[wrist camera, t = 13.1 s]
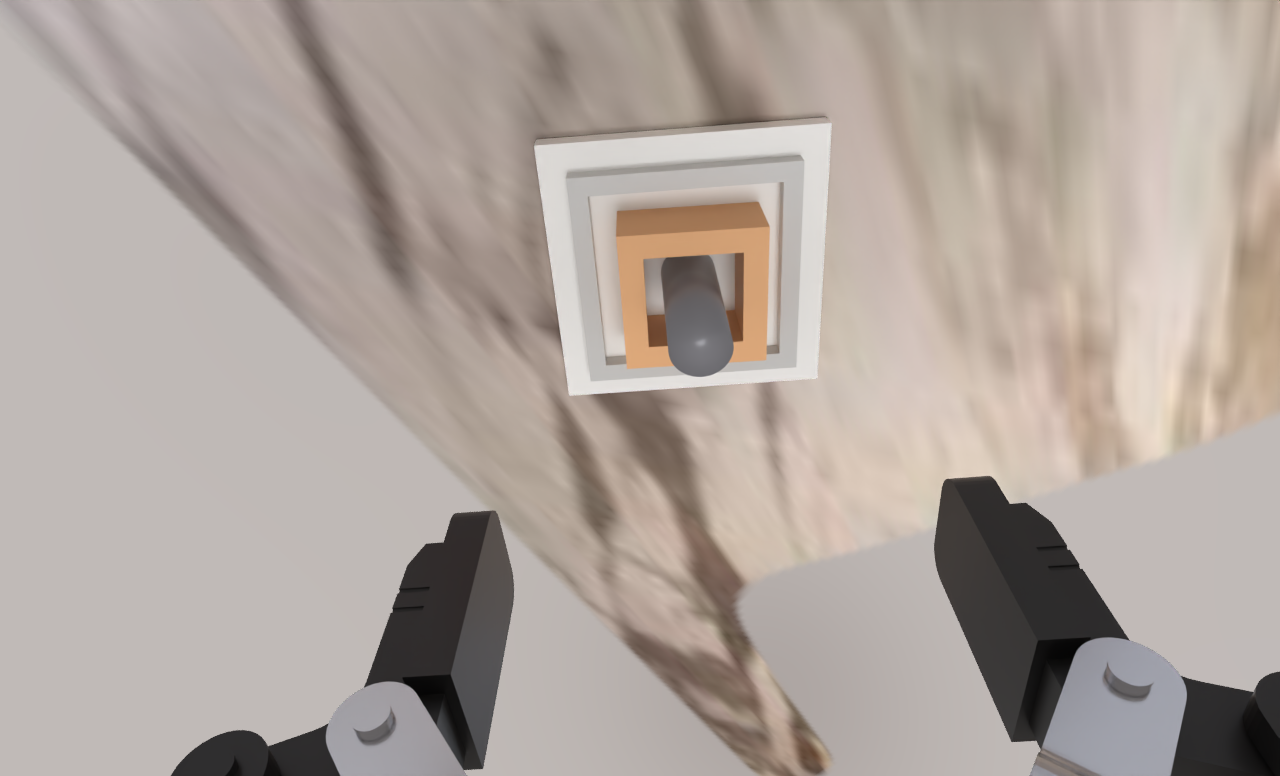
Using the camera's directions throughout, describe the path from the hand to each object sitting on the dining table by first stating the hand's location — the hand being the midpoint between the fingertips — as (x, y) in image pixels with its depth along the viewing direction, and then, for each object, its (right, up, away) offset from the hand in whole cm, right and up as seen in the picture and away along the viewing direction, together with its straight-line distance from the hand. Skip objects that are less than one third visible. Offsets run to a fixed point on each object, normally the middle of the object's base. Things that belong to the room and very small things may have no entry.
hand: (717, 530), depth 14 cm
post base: (+1, +8, +21) cm, 23 cm away
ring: (+1, +8, +20) cm, 22 cm away
